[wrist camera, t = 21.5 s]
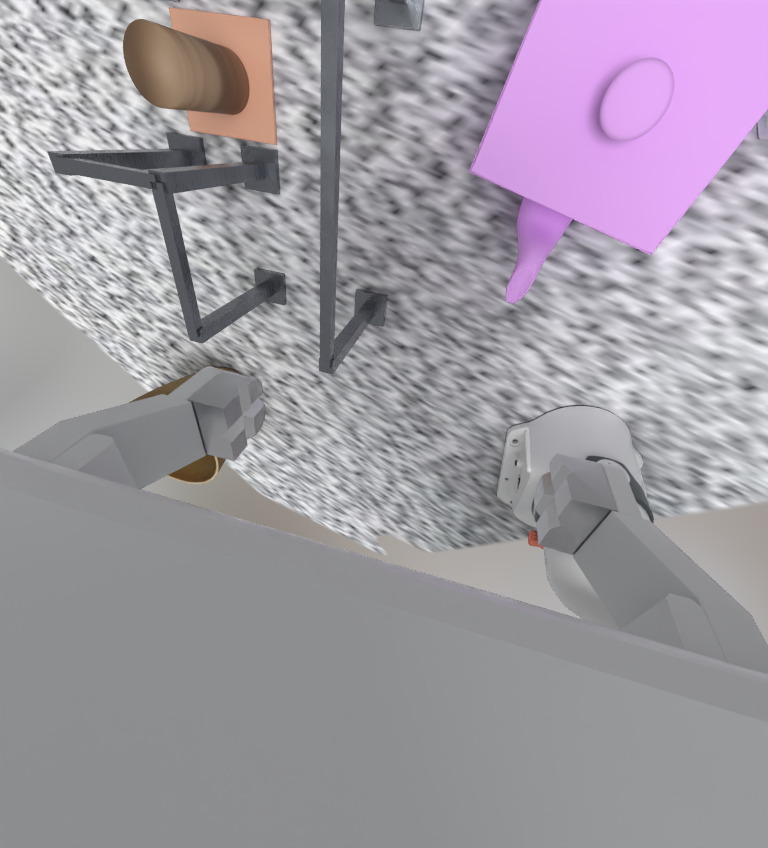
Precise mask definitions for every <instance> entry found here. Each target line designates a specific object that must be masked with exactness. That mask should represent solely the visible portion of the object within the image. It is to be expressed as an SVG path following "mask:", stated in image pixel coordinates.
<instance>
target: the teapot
mask: <svg viewBox="0 0 768 848" xmlns="http://www.w3.org/2000/svg"><path fill="white" fill-rule="evenodd" d="M767 110H768V0H539V2H538V5H537V7H536V10H535V12H534V14H533V17H532V19H531V22H530V24H529V27H528V29H527V32H526V34H525V36H524V39H523V41H522V44H521V46H520V49H519V51H518V53H517V56H516V58H515V61H514V63H513V66H512V68H511V70H510V73H509V75H508V78H507V80H506V83H505V85H504V88H503V90H502V92H501V95H500V97H499V100H498V102H497V105H496V107H495V109H494V112H493V114H492V117H491V119H490V122H489V124H488V126H487V129H486V131H485V134H484V136H483V139H482V141H481V144H480V146H479V148H478V151H477V153H476V156H475V158H474V161H473V163H472V165H471V168H470V170H469V172H470V173H472V174H475V175H477V176H479V177H481V178H483V179H486V180H488V181H490V182H492V183H494V184H497V185H499V186H501V187H503V188H505V189H507V190H510V191H512V192H514V193H516V194H518V195H521V196H523V199H522V203H521V206H520V209H519V213H518V218H517V238H518V258H517V262H516V266H515V269H514V271H513V273H512V276H511V278H510V280H509V283H508V286H507V289H506V301H507V302H508V303H511V304H513V303H516V302H517V301H519V300H520V299H521V298H522V297H523V296H524V295H525V294H526V293H527V291H528V290H529V289H530V287H531V286H532V284H533V282H534V280H535V278H536V276H537V274H538V272H539V270H540V268H541V266H542V265H543V263H544V261H545V259H546V258H547V256H548V255H549V253H550V252H551V250H552V249H553V247H554V246H555V245H556V243H557V242H558V240H559V239H560V238H561V236H562V235H563V233H564V232H565V230H566V229H567V227H568V226H569V224H570V223H571V221H572V220H575V221H578V222H580V223H582V224H584V225H586V226H589V227H591V228H593V229H595V230H597V231H600V232H602V233H604V234H606V235H608V236H611V237H613V238H615V239H617V240H619V241H621V242H624V243H626V244H628V245H630V246H632V247H635V248H637V249H639V250H641V251H643V252H646V253H648V254H650V255H651V254H652V253H653V252H654V251H655V250H656V248H657V247H658V246H659V245H660V243H661V242H662V241H663V240H664V238H665V237H666V236H667V235H668V233H669V232H670V231H671V230H672V228H673V227H674V226H675V225H676V223H677V222H678V221H679V220H680V218H681V217H682V216H683V215H684V213H685V212H686V211H687V210H688V208H689V207H690V206H691V205H692V203H693V202H694V201H695V200H696V198H697V197H698V196H699V195H700V193H701V192H702V191H703V190H704V188H705V187H706V186H707V185H708V183H709V182H710V181H711V180H712V178H713V177H714V176H715V175H716V173H717V172H718V171H719V170H720V168H721V167H722V166H723V165H724V163H725V162H726V161H727V160H728V158H729V157H730V156H731V155H732V153H733V152H734V151H735V150H736V148H737V147H738V146H739V145H740V143H741V142H742V141H743V140H744V138H745V137H746V136H747V135H748V133H749V132H750V131H751V130H752V128H753V127H754V126H755V125H756V123H757V122H758V121H759V120H760V118H761V117H762V116H763V115H764V113H765V112H766V111H767Z"/></svg>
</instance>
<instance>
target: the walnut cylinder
mask: <svg viewBox="0 0 768 848" xmlns="http://www.w3.org/2000/svg"><path fill="white" fill-rule="evenodd" d="M123 52H124V59H125V63H126V67H127V70H128V72H129V75H130V77H131V79H132V81H133V83H134V85H135V86H136V88H137V89H138V91H139V92H140V93H141V95H142V96H143V97H144V98H145V99H146V100H147V101H149V102H150V103H151V104H153V105H155V106H157V107H160V108H167V109H177V110H188V111H198V112H208V113H219V114H229V115H235V114H238V113H240V112H241V111H243V109H244V108H245V107H246V105H247V102H248V99H249V80H248V76H247V72H246V70H245V67H244V65H243V63H242V62H241V60H240V58H239V57H238V56H237V55H236V54H235V53H234V52H233V51H232V50H230V49H229V48H227V47H224V46H221V45H218V44H215V43H212V42H210V41H207V40H204V39H201V38H198V37H195V36H192V35H189V34H186V33H183V32H180V31H177V30H174V29H171V28H168V27H166V26H163V25H160V24H157V23H154V22H151V21H148V20H144V19H138V20H135V21H133V22H132V23H130V24H129V26H128V27H127V29H126V31H125V35H124V40H123Z"/></svg>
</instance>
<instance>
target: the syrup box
mask: <svg viewBox="0 0 768 848" xmlns="http://www.w3.org/2000/svg"><path fill="white" fill-rule="evenodd" d="M757 126H758V136H759V139H760V140H764V139H768V110H767V111H766V112H765V113H764V115H763V116H762V117H761V118H760V120H759V121H758V122H757Z"/></svg>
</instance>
